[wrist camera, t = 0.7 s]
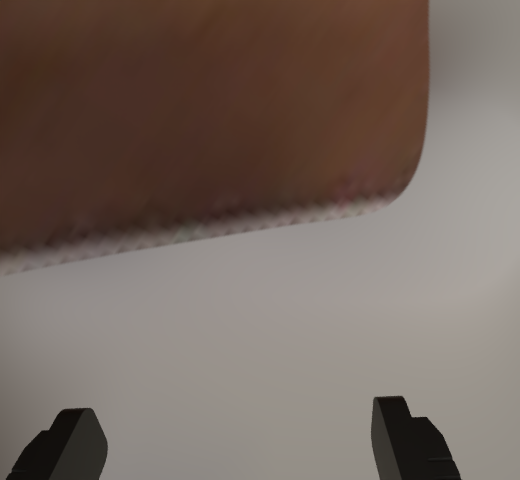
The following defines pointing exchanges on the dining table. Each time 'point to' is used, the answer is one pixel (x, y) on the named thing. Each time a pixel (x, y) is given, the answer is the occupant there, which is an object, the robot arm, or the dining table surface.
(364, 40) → the dining table surface
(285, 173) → the dining table surface
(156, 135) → the dining table surface
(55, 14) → the dining table surface
